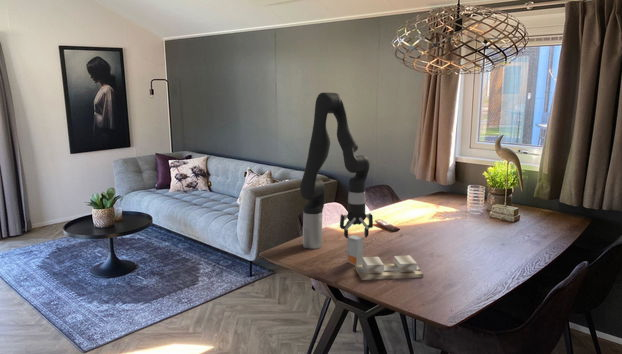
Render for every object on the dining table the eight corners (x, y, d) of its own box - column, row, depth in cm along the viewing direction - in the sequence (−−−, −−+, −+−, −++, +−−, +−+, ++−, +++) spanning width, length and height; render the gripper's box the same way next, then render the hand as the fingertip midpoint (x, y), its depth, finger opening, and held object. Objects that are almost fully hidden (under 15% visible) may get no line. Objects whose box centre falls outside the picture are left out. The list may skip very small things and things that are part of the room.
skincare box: (346, 262, 209) (347, 236, 206) (352, 260, 212) (353, 234, 209) (356, 266, 204) (357, 240, 202) (363, 263, 207) (364, 238, 205)
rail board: (361, 279, 190) (362, 266, 189) (355, 268, 202) (355, 256, 201) (423, 277, 193) (424, 264, 192) (413, 266, 205) (414, 254, 204)
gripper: (370, 199, 207) (369, 234, 210) (339, 200, 205) (338, 235, 208) (375, 203, 200) (374, 239, 203) (342, 204, 198) (341, 240, 201)
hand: (356, 237), depth 205 cm, fingers open, 8 cm apart
